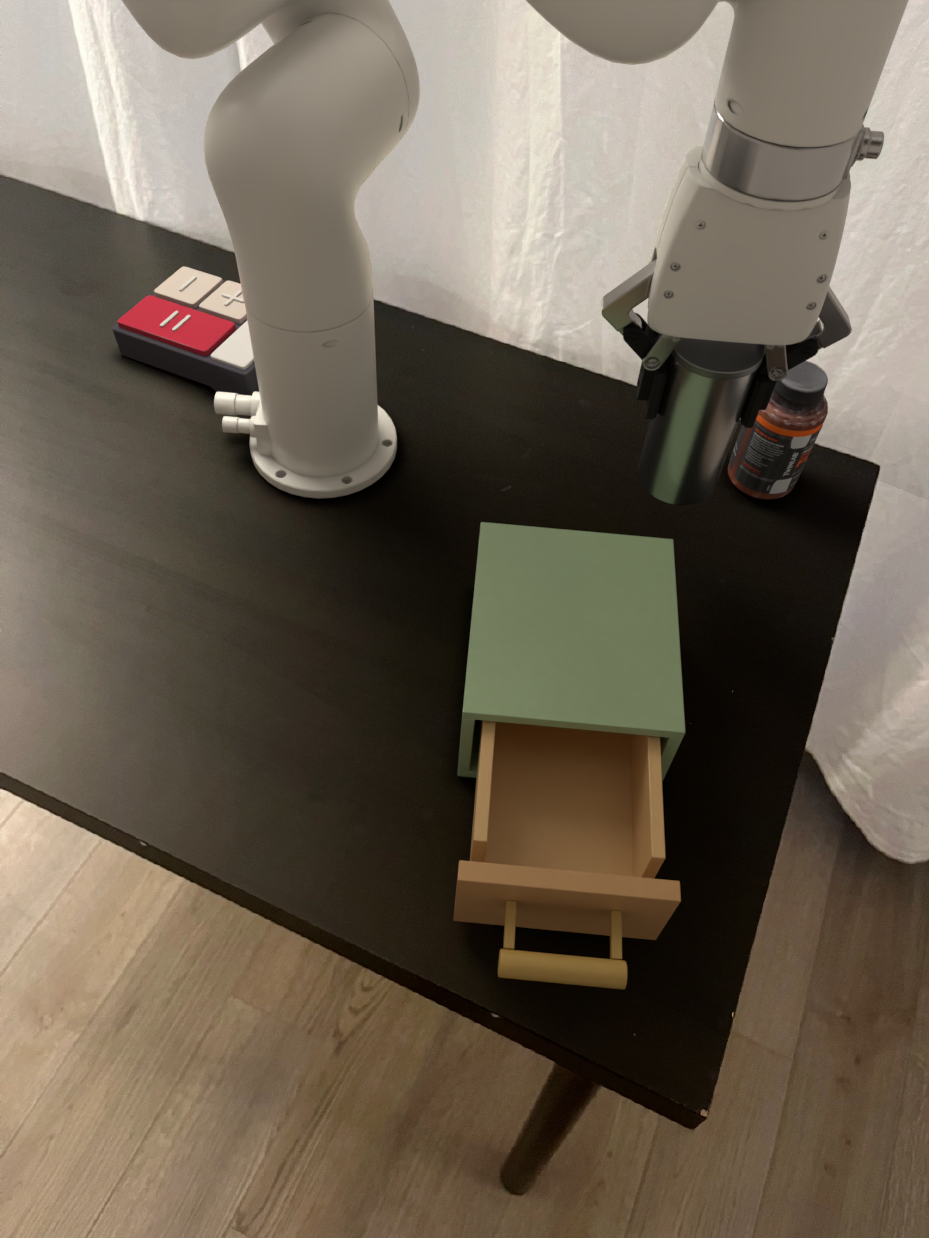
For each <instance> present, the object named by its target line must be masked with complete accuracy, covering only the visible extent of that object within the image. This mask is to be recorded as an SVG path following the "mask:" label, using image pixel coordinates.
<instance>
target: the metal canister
mask: <svg viewBox="0 0 929 1238" xmlns="http://www.w3.org/2000/svg"><path fill="white" fill-rule="evenodd" d="M764 355H765V345H764V344H751V343H738V342H726V341H714V340H703V339H691V338H682V339H681V341H680V342H679V343H678V345H677V346H676V347H675V348H674V350H673V351H672V352H671V354H670V355H669V356H668V358H667V359H666V363H667V379H666V383H665V387H664V391H663V394H662V398H661V402H660V406H659V410H658V413H657V417H656V418H653V420H651V419H649V422H648V425H647V430H646V434H645V436H644V437H645V438H644V442H643V446H642V449H641V453H640V457H639V461H638V465H637V469H636V473H637V478H638V482H639V483H640V486H641V487H642V488H643V489H644V490H645V492H647V493H648V494H649V495H651V496H652V497H653V498H655V499H656V500H658V501H661V502H663V503H666V504H670V505H675V506H693V505H696V504H699V503H702V502H704V501H705V500H707V499H708V498H710V497H711V495H712V494H713V493H714V491H715V490H716V488H717V485H718V481H719V478H720V476H721V473H722V471H723V468H724V464H725V462H726V459H727V456H728V453H729V451H730V448H731V445H732V442H733V440H734V437H735V434H736V431H737V428H738V425H739V422H740V421H741V419H740V417H741V414H742V412H743V409H744V406H745V403H746V400H747V398H748V395H749V392H750V389H751V386H752V384H753V381H754V378H755V375H756V372H757V369H758V368H759V366H760V365H761V363H762V360H763V357H764Z"/></svg>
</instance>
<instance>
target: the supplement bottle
mask: <svg viewBox="0 0 929 1238" xmlns="http://www.w3.org/2000/svg"><path fill="white" fill-rule="evenodd" d="M828 382H829V378H828V375H827V373H826V371H825V370H824V369H823V368H822V367H820V366H819V365H818V364H817V363H814V362H812V361H808V360H806V361H804V362H803V363H801V364H799V365H797V366H795V367H793V368H792V369H790V370H788V374H787V376H786V377H785V378H784V379H783V380H780V381H777V382H776V385H775V388H774V390H773V393H772V395H771V398H770V401H769V403H768V406H767V408H766V410H759V412H758V415H757V418H756V420H755V423H754V426H753V428H746V427H744V425H741V428H740V430H739V432H738V437H737V439H736V441H735V445H734V447H733V450H732V452H731V455H730V457H729V463H728V466H727V475H728V477H729V480H730V481H731V483H732V484H733V486H734V487H735V488H737V489H738V490H739V491H740V492H742V494H743V493H744V494H745V495H747V496H749V497H752V498H755V499H759V500H770V501H771V500H778V499H780V498H781V499H782V498H784V497H786V496H787V495H788V494H789V493H791V492H792V490H793V489H794V488H795V485H796V484H797V482H798V480H799V478H800V476H801V474H802V473H803V470H804V468H805V466H806V463H807V461H808V458H809V457H810V454H811V452H812V450H813V448H814V445H815V443H816V441H817V439H818V437H819V434H820V432H821V431H822V429H823V426H824V423H825V421H826V419H827V416H828V414H829V406H828V405H829V404H828V400H827V398H826V395H825V392H826V388H827V387H828V384H829V383H828Z"/></svg>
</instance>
